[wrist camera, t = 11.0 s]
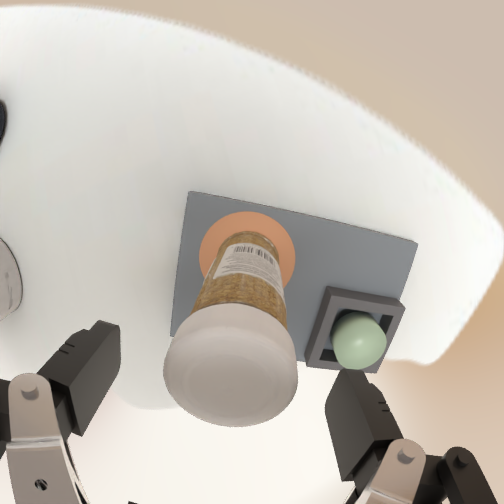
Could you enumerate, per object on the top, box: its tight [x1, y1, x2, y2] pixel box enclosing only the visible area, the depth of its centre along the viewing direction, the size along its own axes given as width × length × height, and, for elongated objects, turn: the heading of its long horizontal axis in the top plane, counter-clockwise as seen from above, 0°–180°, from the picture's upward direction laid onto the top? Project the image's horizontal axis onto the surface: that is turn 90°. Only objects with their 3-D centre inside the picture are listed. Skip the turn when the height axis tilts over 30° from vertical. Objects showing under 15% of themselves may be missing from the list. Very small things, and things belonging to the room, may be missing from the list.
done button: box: [330, 311, 387, 370], centre depth 21 cm, size 4×4×2 cm
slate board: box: [170, 191, 418, 373], centre depth 22 cm, size 18×12×3 cm, turn 78°
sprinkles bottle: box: [163, 231, 298, 427], centre depth 15 cm, size 5×5×13 cm
